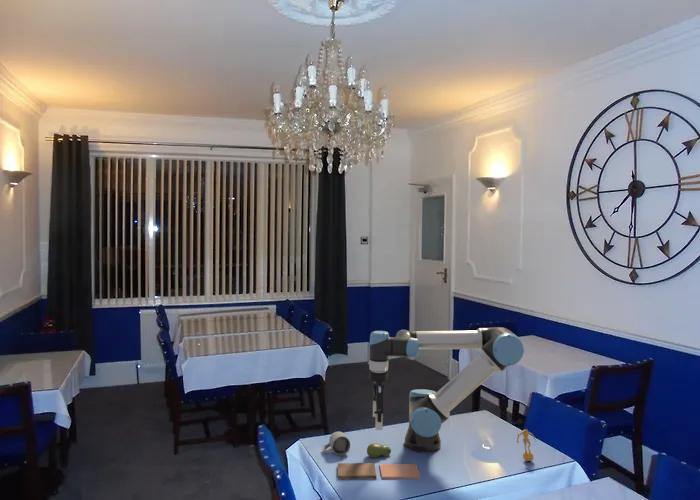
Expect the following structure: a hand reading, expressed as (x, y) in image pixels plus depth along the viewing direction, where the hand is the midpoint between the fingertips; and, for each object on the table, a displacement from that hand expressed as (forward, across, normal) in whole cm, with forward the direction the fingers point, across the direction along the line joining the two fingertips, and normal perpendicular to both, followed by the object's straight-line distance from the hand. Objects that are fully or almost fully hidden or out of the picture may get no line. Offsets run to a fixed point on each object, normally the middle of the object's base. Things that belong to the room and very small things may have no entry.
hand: (377, 423), depth 208 cm
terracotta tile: (+13, +14, +7) cm, 21 cm away
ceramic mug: (+14, -4, -16) cm, 22 cm away
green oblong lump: (+14, 0, +1) cm, 14 cm away
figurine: (+13, +4, +59) cm, 61 cm away
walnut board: (+14, +14, -9) cm, 21 cm away
